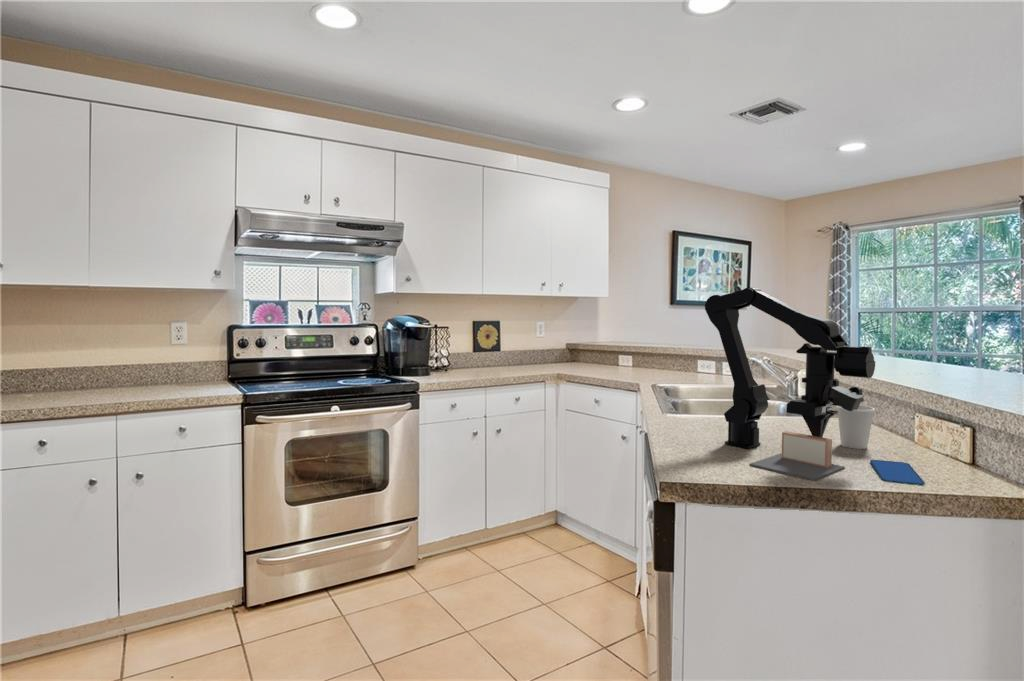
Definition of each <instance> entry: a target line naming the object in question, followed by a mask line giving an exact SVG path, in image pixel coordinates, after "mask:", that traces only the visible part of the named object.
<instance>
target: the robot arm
mask: <svg viewBox="0 0 1024 681" xmlns="http://www.w3.org/2000/svg"><path fill="white" fill-rule="evenodd" d="M750 306H752V307H754V308H755V309H758V310H759V311H761V312H763V313H766V314H768V315H769V316H770V317H772V318H774V319H776V320H778V321H780V322H782V323H784V324H785V325H788V326H789V327H790V328H791V329H793V331H794V332H795V333H796V335H798V336H799V337H800V338H802V339H803V340H804V341H805V343H803V344H802V346H801V347H800V348H798V349H797V350H796V353H797V354H805V356H806V357H805V377H801V383H805V386H804V387H805V388H804V392H805V393H804V394H803V395H801V398H800V399H799V398H797V399H793V400H790V401H789V402H787V403H786V413H787V414H794V415H800V416H801V417H802V418H803V420H804V422H805V424H806V426H807V428H808V429H809V432H810V434H811V436H817V437H823V436H824V433H825V431H826V428H827V425H828V423H829V420H830V419H831V418H832V417H834V416H836V415H838V410H833V407H831V406H835V407H836V406H841V407H842V408H843V409H845V410H848V411H853V410H855V409H856V410H857V409H858V407H859V405H861V403H863V402H864V401H865V399H864V397H865V395H864V394H863V388H862V387H859V386H856V385H854V386H851V387H850V388H849V389H848V388H847V387H842V386H840V380H839V379H838V378H835V372H836V373H838V374H839V375H840V376H841V377H853V378H863V379H864V378H866V379H871V378H872V377H873V376H874V373H875V371H876V361H875V357H874V353H873V352H872V351H873V349H872V347H871V346H850V345H849V343H847V341H846V340H845V339H844V337H843V336H842V335H841V334H840V329H839V325H838V324H837V323H836V321H834V320H832V319H828V318H826V317H823V316H819V315H815V314H811V313H808V312H805V311H801V310H799V309H797V308H795V307H793V306H792V305H789V303H786V302H784V301H782V300H780V299H778V298H776V297H774V296H772V295H770V294H768V293H766V292H764V291H763V290H761V288H759V287H746V288H743V289H741V290H737V291H733V292H730V293H726V294H714V295H713V294H712V295H710V296H709V297H708V298H707V300H705V303H704V310H705V312H706V315H707V316H708V319H709V321H710V322H711V323H712V324H713V326H714V328H716V330H717V332H718V333H719V337H720V341H721V344H722V347H723V350H724V354H725V357H726V359H727V361H726V362H727V363H728V367H729V371H730V374H731V377H732V382H733V389H732V403H733V405H732V406H731V407H730V408H729V409H728V410H726V411H725V412H724V413H723V416H724V418H725V421H726V422H727V423H728V426H727V430H728V431H727V433H728V434H727V440H726V441H724V444H725V445H729V444H730V445H729V446H735V447H738V448H745V449H750V448H754V447H756V446H757V447H758V446H760V445H761V442H760V428H759V427H758V424H759V423H758V421H759V420H760V419H761V418H762V414H764V413H765V412H766V411H767V409H768V407H769V401H770V398H769V396H768V394H767V390H766V385H765V384H764V383H763V384H758V383H757V382H756V380H755V379H754V376H753V373H752V370H751V365H750V363H749V360H748V356H747V353H746V350H745V347H744V343H743V340H742V337H741V333H740V330H739V326H738V324H739V319H740V318H739V317H740V310H742V309H744V308H748V307H750ZM812 345H813V346H812ZM823 438H824V437H823Z"/></svg>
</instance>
